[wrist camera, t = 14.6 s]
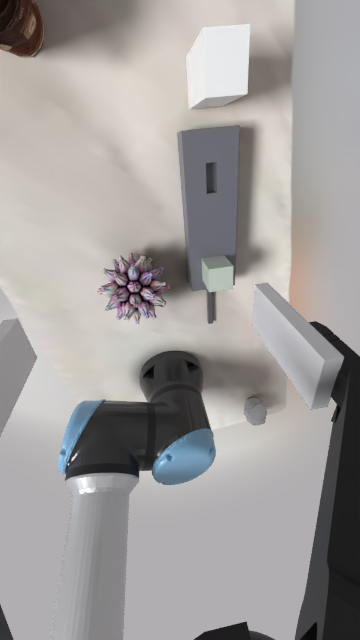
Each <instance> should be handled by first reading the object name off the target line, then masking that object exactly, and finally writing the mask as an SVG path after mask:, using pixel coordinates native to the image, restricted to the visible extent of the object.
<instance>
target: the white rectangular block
mask: <svg viewBox="0 0 360 640" xmlns="http://www.w3.org/2000/svg"><path fill="white" fill-rule="evenodd" d="M249 43H250V24H243V25H229V26H215V27H203V29H202V31H201V33H200V34H199V36H198V38H197V39H196V41H195V43H194V45H193V46H192V48H191V50H190V52H189V53H188V55H187V57H186V63H187V82H188V100H189V110H190V109H200V108H211V107H221V106H224V105H226V104H228V103H230V102H232V101H234V100H236V99H238V98H240V97H243V96H245V95H247V91H248V67H249Z"/></svg>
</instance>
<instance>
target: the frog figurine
mask: <svg viewBox="0 0 360 640" xmlns="http://www.w3.org/2000/svg"><path fill="white" fill-rule="evenodd" d="M244 408H245V409H244V414H245V415H246V418H247V420H248V421H249V422H250V423H251V424H252V425H260V424H264V423H265V419H266V414H267V411H266V405H265V404H264V403H263V401H261V400H260V399H258V398H255V397H252V398H249V399H248V400H247V401H246V402H245V407H244Z"/></svg>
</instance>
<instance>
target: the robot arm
mask: <svg viewBox="0 0 360 640" xmlns="http://www.w3.org/2000/svg"><path fill="white" fill-rule="evenodd" d="M252 326H253V327H254V329H255V330H256V331H257V333H258V334H259V336H260V337H261V339H262V340H263V342H264V343H265V345H266V346H267V347H268V349H269V350H270V352H271V353H272V355H273V356H274V358H275V359H276V360H277V362H278V363H279V365H280V366H281V368H282V369H283V371H284V372H285V374H286V375H287V376H288V378H289V379H290V381H291V382H292V383H293V385H294V386H295V388H296V389H297V391H298V392H299V394H300V395H301V397H302V398H303V399H304V401H305V402H306V404H307V405H308V407H309V408H310V410H312V409H318V408H323V407H328V404H329V401H330V398H331V397H332V398H333V400H334V401H335V402H336V403H337V406H336V409H335V412H334V415H333V417H332V420H331V421H332V422H333V427H332V432H331V439H330V445H329V451H328V457H327V463H326V469H325V475H324V481H323V487H322V494H321V499H320V506H319V512H318V518H317V525H316V530H315V537H314V543H313V549H312V554H311V561H310V567H309V573H308V579H307V585H306V591H305V596H304V600H303V603H302V607H301V610H300V615H299V619H298V624H297V630H296V636H295V640H360V357H359V356H358V355H357V354H356V353H355V352H354V351H353V350H352V349H351V348H350V347H348V346H347V345H346V344H345V343H344V342H343V341H342V340H340V338H338V337H337V336H336V335H334V333H333V332H332V331H331V330H330V329H328V328H327V327H326V326H324V325H322V324H320V323H318V322H316V321H315V322H307V320H305V319H304V318H303V317H302V316H301V315H300V314H299V313H298V312H297V311H296V310H295V309H294V308H293V307H292V306H291V305H290V304H289V303H288V302H287V301H286V300H285V299H284V298H283V297H282V296H281V295H280V294H279V293H278V292H277V291H275V290H274V289H273V288H272V287H271V286H270V285H269V284H268V283H262V284H255V287H254V300H253V313H252ZM36 359H37V356H36V354H35V352H34V350H33V348H32V346H31V344H30V342H29V340H28V338H27V336H26V334H25V332H24V330H23V328H22V326H21V324H20V322H19V320H18V318H17V319H11V320H4V321H2V322H1V324H0V436H1V434H2V432H3V429H4V427H5V425H6V423H7V421H8V419H9V417H10V415H11V412H12V410H13V408H14V406H15V404H16V402H17V399H18V397H19V395H20V393H21V391H22V389H23V387H24V384H25V383H26V380H27V378H28V376H29V374H30V372H31V370H32V368H33V365H34V363H35V361H36ZM140 386H141V389H142V391H143V394H144V396H145V398H146V400H147V402H127V401H106V400H101V401H83V402H81V403H80V404H79V405H78V406H77V407H76V408H75V410H74V411H73V413H72V415H71V418H70V421H69V423H68V426H67V429H66V432H65V435H64V439H63V442H62V449H61V452H60V455H59V460H58V470H59V472H61V473H63V474H65V473H66V478H65V486H66V488H67V489H68V491H69V492H70V493H71V495H72V504H71V511H70V517H69V523H68V529H67V535H66V542H65V548H64V554H63V560H62V567H61V573H60V580H59V585H58V592H57V598H56V605H55V610H54V617H53V623H52V629H51V636H50V640H123V629H124V605H125V581H126V557H127V534H128V510H129V494H130V492H131V491H132V490H133V489H134V487H135V486H136V485H137V484H138V482H139V471H149V470H152V475H153V476H154V479H155V480H156V481H157V482H159V483H162V484H164V485H175V484H180V483H184V482H187V481H190V480H192V479H194V478H196V477H198V476H199V475H201V474H202V473H204V472H205V471H206V470H207V469H208V468H209V467H210V466H211V465H212V463H213V461H214V459H215V453H216V450H215V445H214V440H213V432H212V431H211V427H210V424H209V420H208V417H207V413H206V410H205V406H204V403H203V399H202V396H201V394H202V386H203V371H202V368H201V365H200V363H199V361H198V360H197V359H196V358H195V357H193V356H192V355H190V354H188V353H185V352H179V351H170V352H164V353H161V354H158V355H156V356H154V357H152V358H151V359H150V360H148V361H147V362H146V363H145V365H144V366H143V368H142V370H141V373H140ZM0 640H13V637H12V635H11V632H10V629H9V627H8V624H7V621H6V619H5V616H4V614H3V611H2V608H1V605H0ZM194 640H274V639H273V638H271V637H269V636H267V635H264V634H261V633H258V632H254V631H249V630H248V626H247V622H243V623H239V624H235V625H231V626H227V627H223V628H219V629H215V630H211V631H207V632H204V633H203V634H201V635H200V636H198V637H197V638H195V639H194Z"/></svg>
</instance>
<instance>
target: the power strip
mask: <svg viewBox="0 0 360 640" xmlns="http://www.w3.org/2000/svg"><path fill="white" fill-rule="evenodd" d="M177 137H178V150H179V163H180V176H181V189H182V202H183V215H184V228H185V242H186V255H187V268H188V281H189V284H190V287H191V289H192V291H198V290H205V289H207V287H206V285H205V283H204V282H203V278H202V258H209V257H216V256H223V255H224V256H225V257H226V258H227V259H228V260H229V261H230V263H231V264H232V265H233V285H235V258H236V224H237V191H238V158H239V125H237V126H228V127H218V128H208V129H198V130H188V131H180V132H178V133H177ZM207 313H208V323H209V324H211V323H213V308H212V292H209V291H208V289H207Z"/></svg>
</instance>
